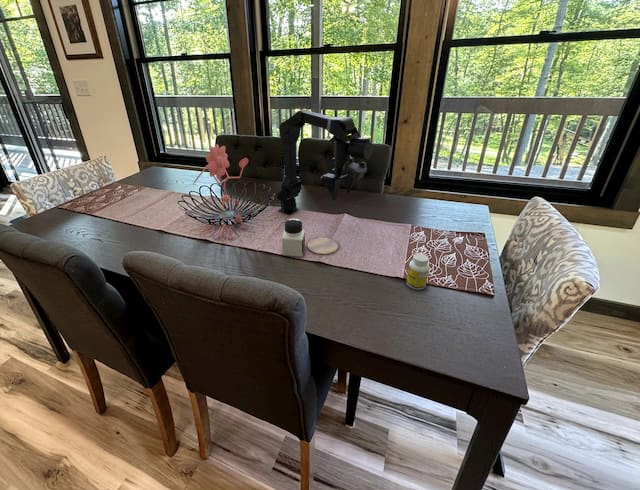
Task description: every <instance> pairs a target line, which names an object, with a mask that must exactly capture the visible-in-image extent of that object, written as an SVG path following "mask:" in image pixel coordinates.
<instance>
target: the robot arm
mask: <svg viewBox="0 0 640 490" xmlns="http://www.w3.org/2000/svg"><path fill="white" fill-rule="evenodd" d="M306 124H308V125H311V126H314V127H318V128H320V129H325V130H326V131H327V132H328V133H329V134H331V135H332V137H331V138H330V139H329V140H328V141H329V142H330V143H334V157H331V162H334V164H333V167H334V168H332V169H331V173H329V172H327V173H325V174H322V176H320V179H319V180H320V181H319V183H320V184H322V185H323V186H325V188H326V189H327V192H328V193H329V195H330V197H331V199H332V201H336V200H337V194H338V188H339V187H340V186H341V178H343V179H344V184H345V189H346V193H347V194H351V191H352V188H353V185H354V183H355V181H358V180H360V179H363V178H364V176H365V174H366V173H367V172H368V165H367V162H366V161H362V162H360V163H359V162H358V163H356V162H355V158H356V159H362V160H370V158H371V157H372V155H373V152H374V146H373V143H372V141H371V138H370V137H361V136H362V135H361V134H360V132H359V130H358V128H357V127H356V125H355V121H354V119H353V118H352V117H349V116H329V115H325V114H322V113H318V112H314V111H310V110H309V109H301V110H297V111H296V112H295V113H294V114H293V115H291V116H290V117H288V118H287V119H286V120H285V121H282V122H280V124H279V127H278V130H279V136H280V139H281V141H282V142H283V147H284V149H283V151H284V153H283V154H284V178H283V180H282V182H281V187H280V191H279V192H278V193H277V194H276V198H277V200H278V201H280V208H279V209H278V212H281V213H284V214H287V215H291V214H293V213H295V212H297V211H298V210H299V208H297V202H296V201H297V199H296V198H297V197H299V195H300V193H301V192H302V190H303V187H302V183H303V182H302V180H300V179H299V178H298V175H297V172H298V171H297V169H298V168H297V164H298V163H297V142H298V140H299V138H300V136H301V129H302V128H303V127H304V126H305V125H306Z"/></svg>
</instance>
